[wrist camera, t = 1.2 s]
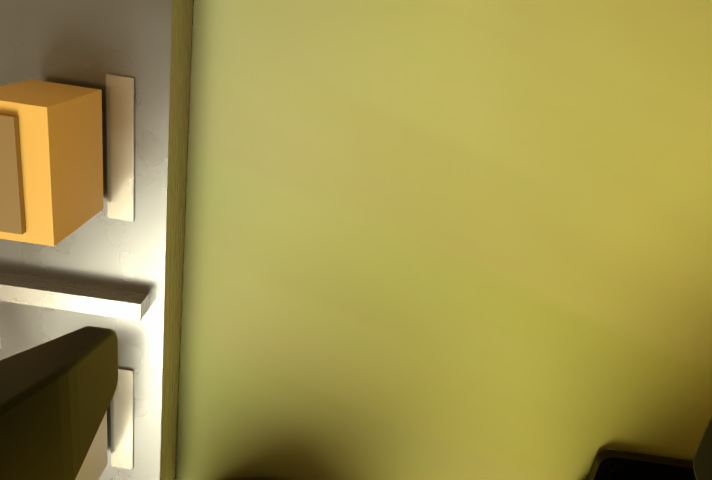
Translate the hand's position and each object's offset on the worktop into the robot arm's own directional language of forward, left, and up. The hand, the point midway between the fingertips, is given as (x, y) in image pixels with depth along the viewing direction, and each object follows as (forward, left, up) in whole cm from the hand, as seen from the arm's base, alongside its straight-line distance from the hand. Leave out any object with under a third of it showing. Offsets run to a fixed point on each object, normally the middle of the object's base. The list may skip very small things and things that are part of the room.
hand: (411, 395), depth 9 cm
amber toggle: (+10, 0, -10) cm, 14 cm away
